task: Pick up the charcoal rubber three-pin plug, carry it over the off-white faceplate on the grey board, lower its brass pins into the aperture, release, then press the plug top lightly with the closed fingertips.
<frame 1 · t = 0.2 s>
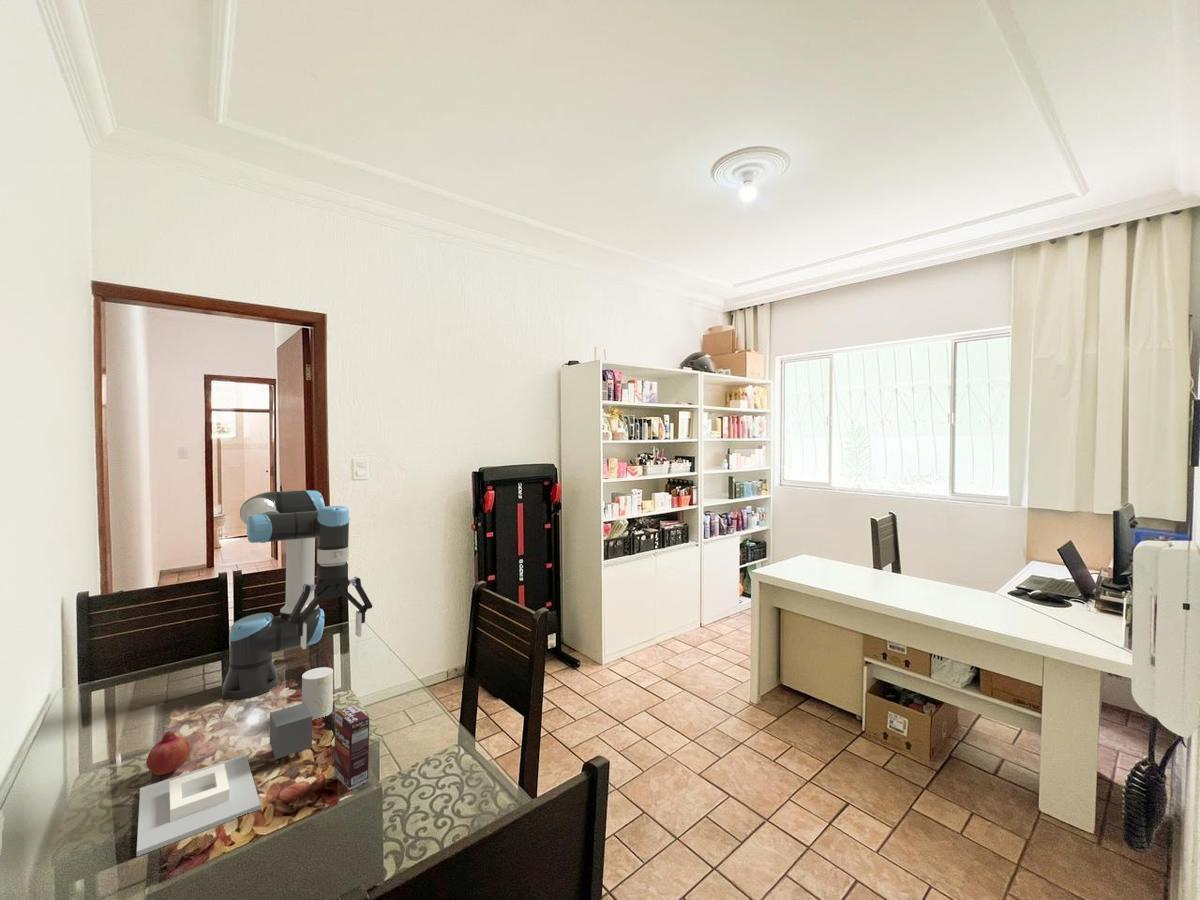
hand: (331, 641, 136), 27 cm above the table, fingers open, 13 cm apart
supplement box: (351, 780, 121), on the table
white cylinder: (317, 713, 150), on the table
plug: (290, 753, 130), on the table
socket: (198, 800, 113), on the table
fruit: (168, 773, 122), on the table
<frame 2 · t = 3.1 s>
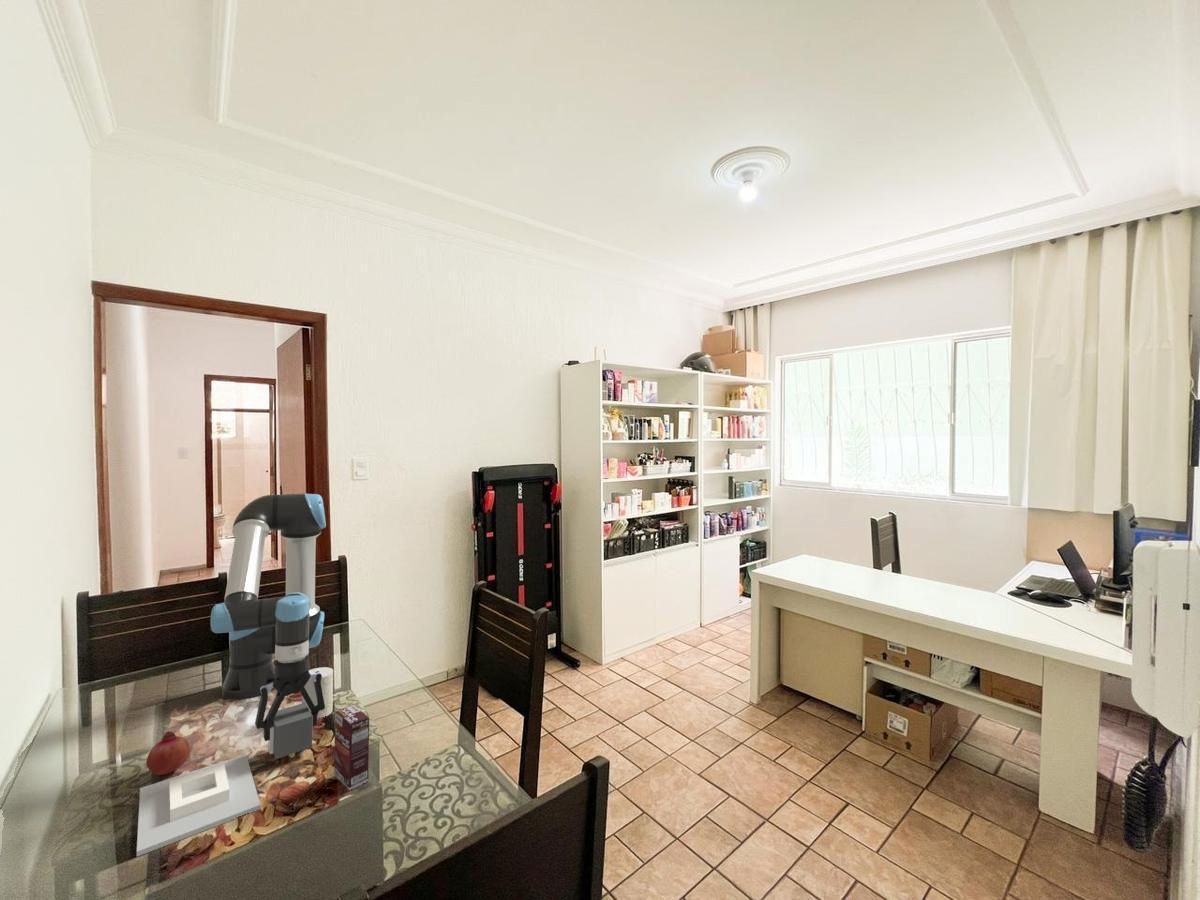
hand: (290, 744, 130), 2 cm above the table, fingers closed on plug, 8 cm apart
plug: (290, 753, 130), on the table, touching gripper
everything else where it was.
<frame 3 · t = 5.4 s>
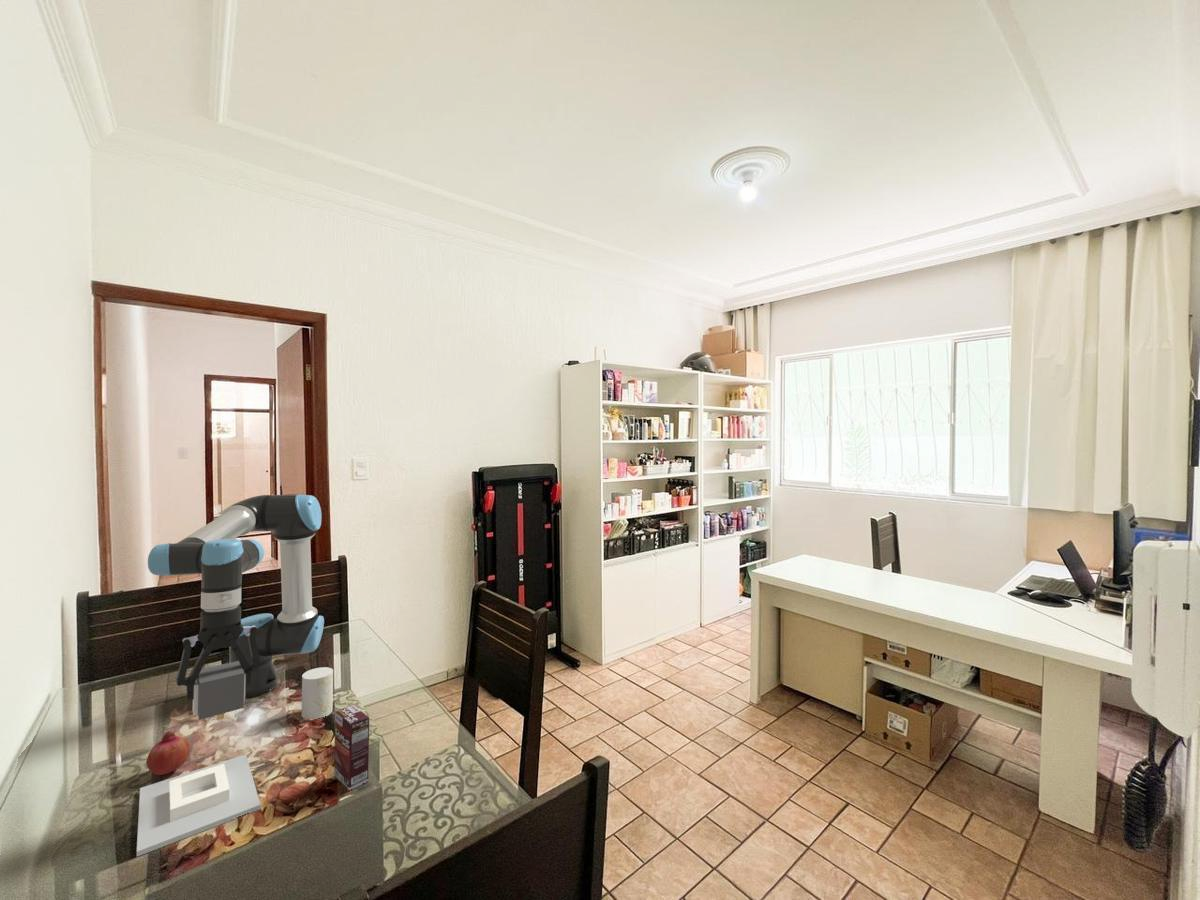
hand: (219, 705, 116), 20 cm above the table, fingers closed on plug, 8 cm apart
plug: (219, 715, 116), point 18 cm above the table, touching gripper
everything else where it was.
when the fingers open (5 cm above the table, at t = 8.0 s): plug stays where it is, resting on socket.
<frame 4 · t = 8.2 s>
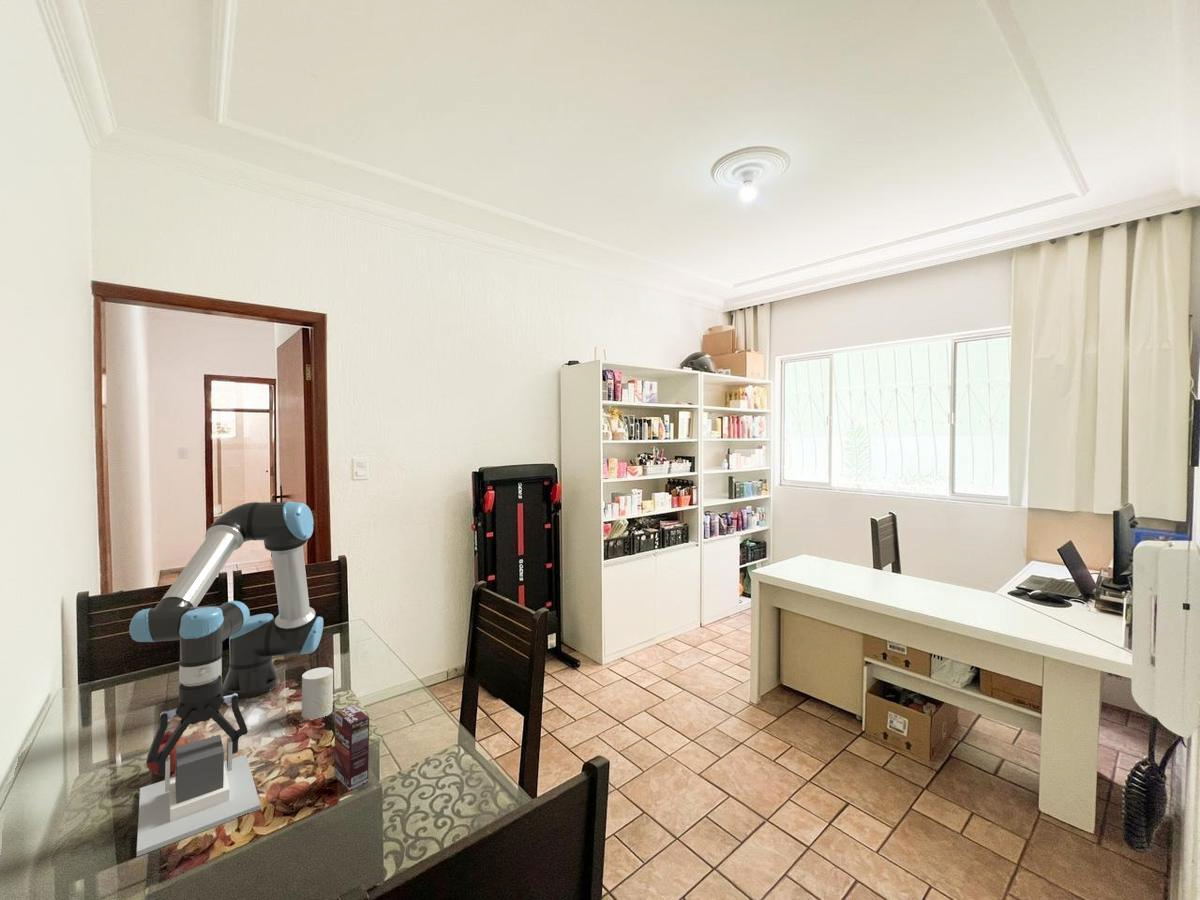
hand: (199, 778, 113), 5 cm above the table, fingers open, 10 cm apart
plug: (199, 794, 113), point 1 cm above the table, touching socket
everything else where it was.
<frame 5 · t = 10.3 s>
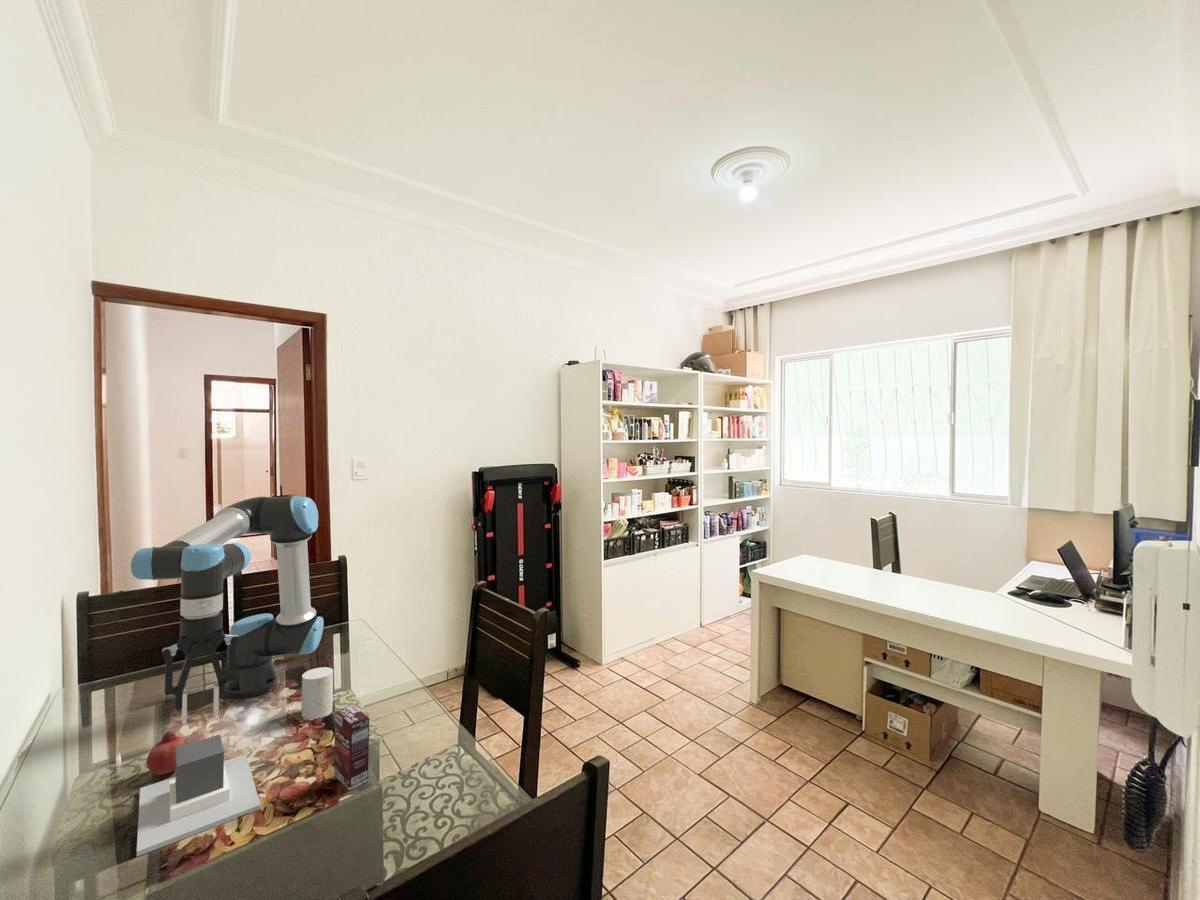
hand: (200, 717, 113), 19 cm above the table, fingers open, 5 cm apart
nothing on the table moved.
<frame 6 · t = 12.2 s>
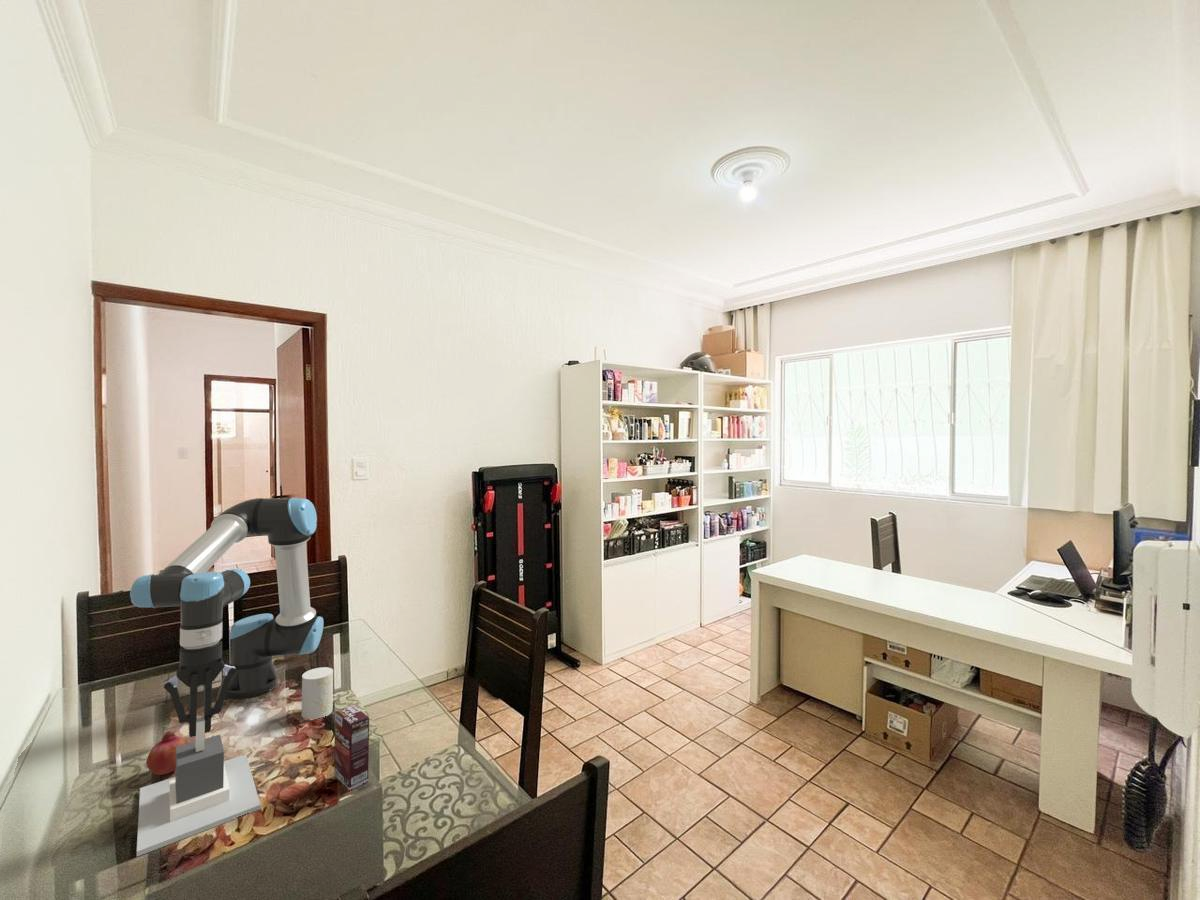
hand: (199, 748, 113), 12 cm above the table, fingers closed
nothing on the table moved.
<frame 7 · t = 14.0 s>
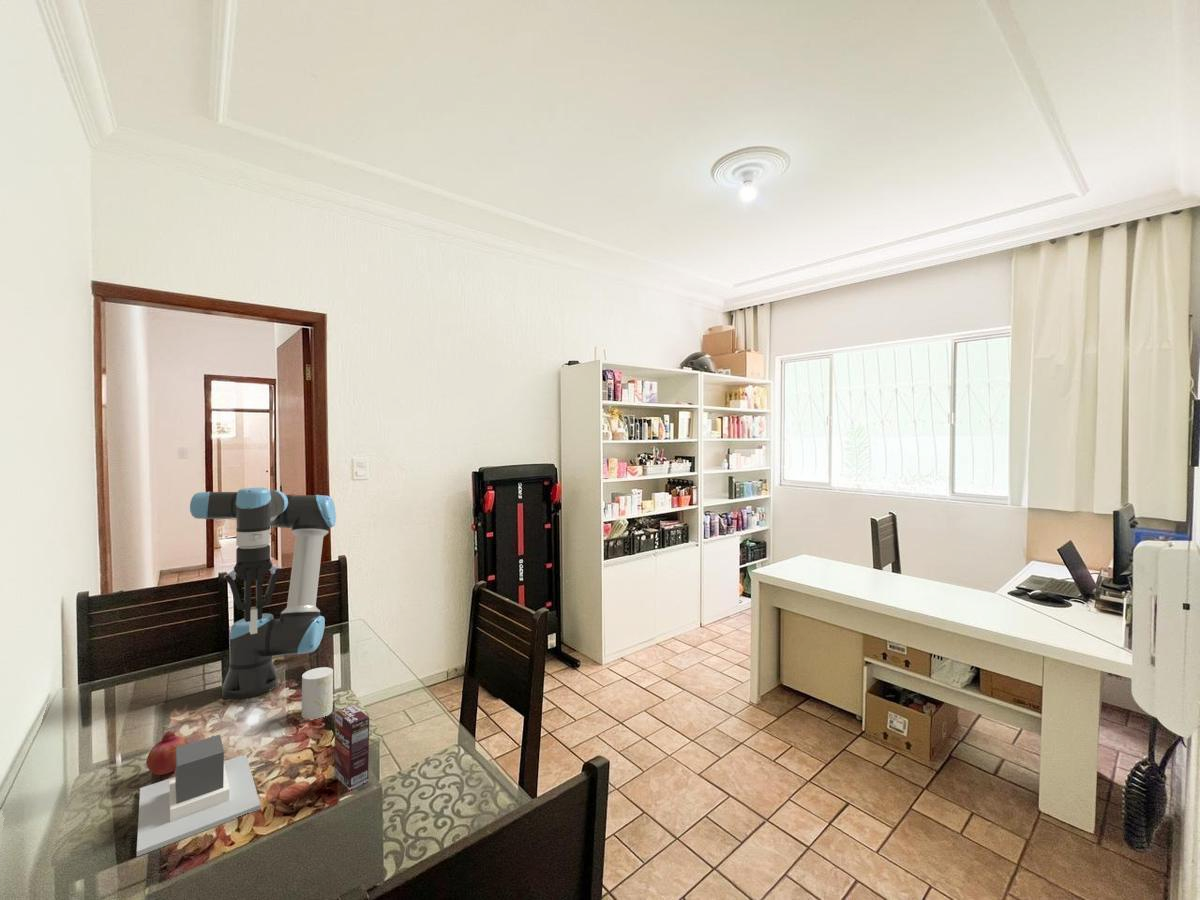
hand: (253, 632, 135), 30 cm above the table, fingers closed
nothing on the table moved.
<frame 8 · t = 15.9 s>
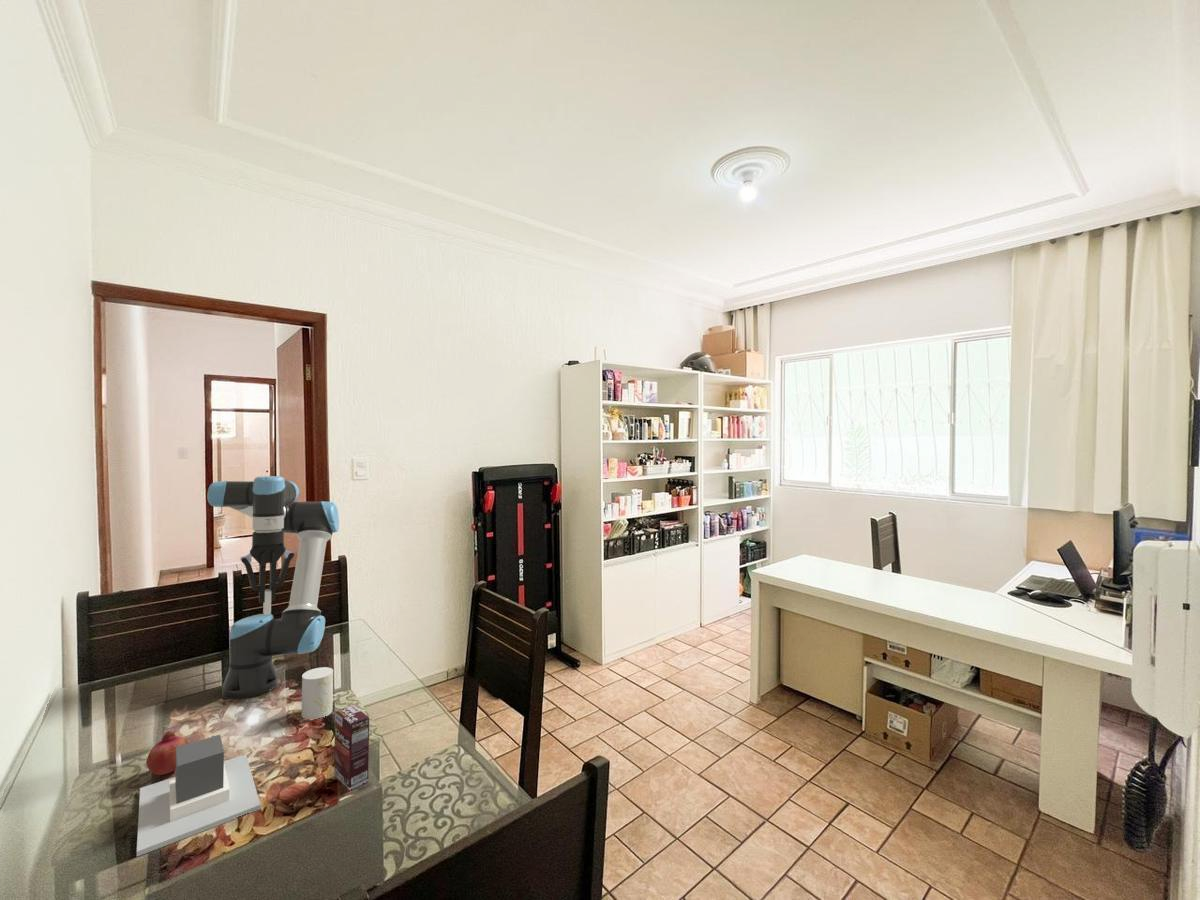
hand: (267, 613, 143), 32 cm above the table, fingers closed
nothing on the table moved.
at the end: plug 0.0 cm off-centre on the socket, point 1.3 cm above the socket's base; plug tilted 0°; the gripper is holding nothing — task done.
